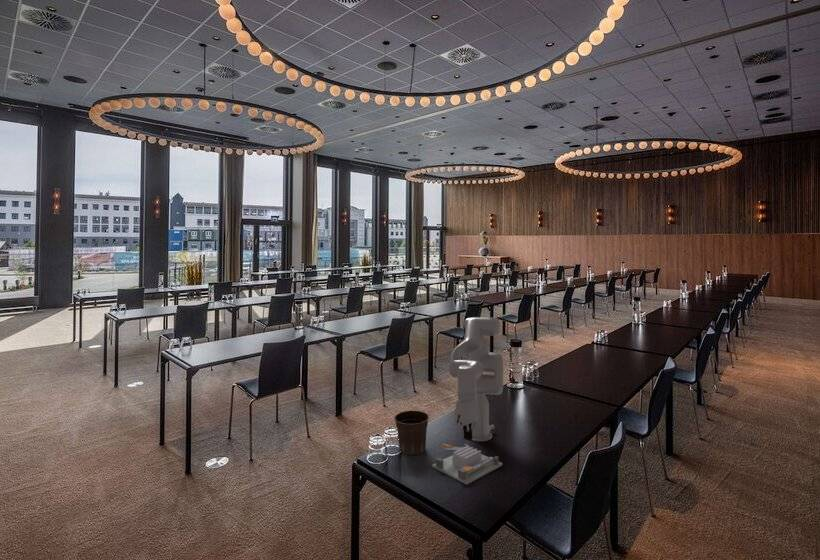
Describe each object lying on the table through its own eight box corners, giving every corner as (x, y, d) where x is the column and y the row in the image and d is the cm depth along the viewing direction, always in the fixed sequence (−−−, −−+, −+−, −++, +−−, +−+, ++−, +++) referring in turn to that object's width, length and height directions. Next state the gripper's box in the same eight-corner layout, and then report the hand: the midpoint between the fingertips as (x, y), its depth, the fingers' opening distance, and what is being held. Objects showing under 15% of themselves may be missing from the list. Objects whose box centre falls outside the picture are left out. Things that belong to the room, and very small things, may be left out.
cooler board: (467, 450, 210) (467, 436, 209) (502, 465, 195) (502, 450, 194) (432, 466, 195) (431, 452, 194) (466, 484, 180) (466, 469, 179)
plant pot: (418, 461, 200) (417, 426, 199) (388, 453, 209) (387, 419, 207) (435, 447, 214) (435, 414, 213) (406, 440, 222) (406, 408, 221)
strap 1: (467, 449, 207) (468, 445, 207) (472, 451, 204) (473, 447, 205) (440, 447, 195) (441, 443, 195) (445, 450, 193) (446, 446, 193)
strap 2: (490, 458, 197) (490, 454, 197) (496, 461, 195) (496, 457, 195) (461, 472, 185) (461, 468, 185) (467, 475, 183) (467, 471, 182)
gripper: (472, 389, 191) (473, 430, 192) (447, 398, 181) (448, 441, 183) (486, 393, 185) (486, 436, 187) (461, 402, 175) (462, 448, 177)
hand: (467, 439), depth 185 cm, fingers closed
